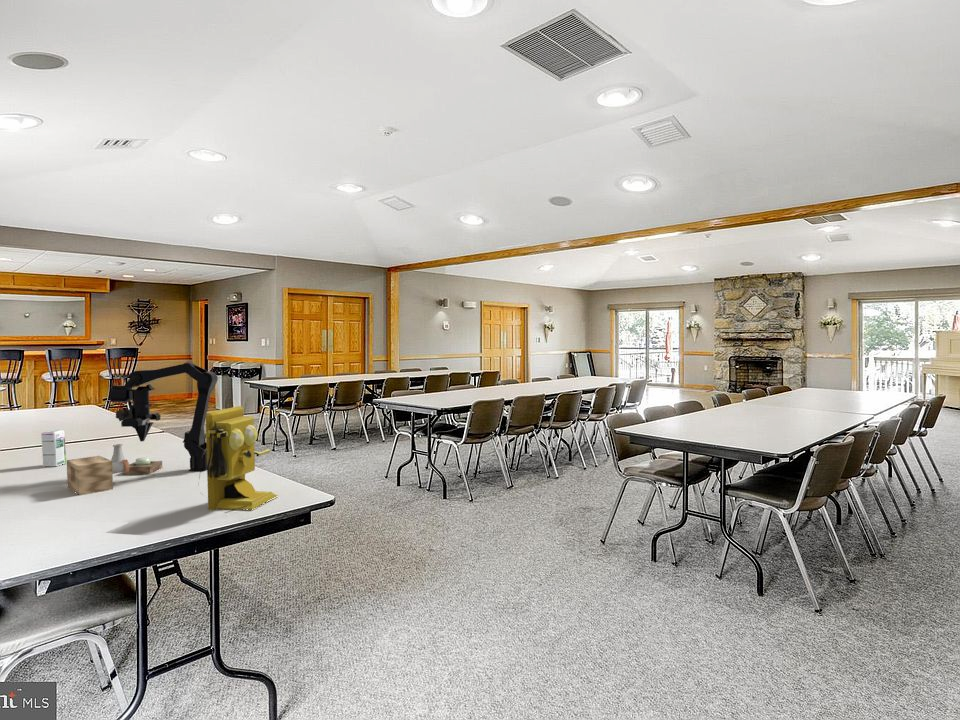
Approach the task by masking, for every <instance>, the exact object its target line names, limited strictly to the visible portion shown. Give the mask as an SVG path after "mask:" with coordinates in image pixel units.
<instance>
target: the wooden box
mask: <svg viewBox="0 0 960 720" xmlns="http://www.w3.org/2000/svg"><path fill="white" fill-rule="evenodd" d="M66 475H67V476H66V478H67V480H66V481H67V482H66V483H67V489H68V488H69V489H68V490H70V489H71V490H72V492H73V491H74V492H73V493H75V492H76V493H77V495H78V494H79V495H78V496H81V495H82V494H84V495H88V494H87V493H89V494H94V493H93V492H95V493H100V492H105V491H104V490H106V491H110V489H111V490H114V484H113V483H114V480H113V474H112V461H111V459H108V458H106V457H104V456H101V455H95V456H93V455H92V456H87V457H82V458H81V457H80V458H74V459H66ZM71 490H70V491H71ZM99 491H100V492H99ZM76 493H75V494H76ZM82 496H83V495H82Z"/></svg>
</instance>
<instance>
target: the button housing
mask: <svg viewBox="0 0 960 720" xmlns="http://www.w3.org/2000/svg"><path fill="white" fill-rule="evenodd" d="M161 468H162V469H163V460H150V464H149V465H141V466H136V461H134V462H132V463H129V472H128V473H123V472H122V473H123V474H130V475H151V474H153V473H155V472H157V470H158V471H159V469H160V470H161Z"/></svg>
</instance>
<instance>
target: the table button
mask: <svg viewBox="0 0 960 720" xmlns="http://www.w3.org/2000/svg"><path fill="white" fill-rule="evenodd" d="M150 461H151V457H138V458H136V459H135V462H136V466H141V465H149V464H150Z"/></svg>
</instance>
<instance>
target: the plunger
mask: <svg viewBox="0 0 960 720" xmlns="http://www.w3.org/2000/svg"><path fill="white" fill-rule="evenodd" d="M129 464H130V463H129V461H128V459H126V460H122V461H120V462H114V463H112V474H115V475H116V474H120V473H128V472H129Z"/></svg>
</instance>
